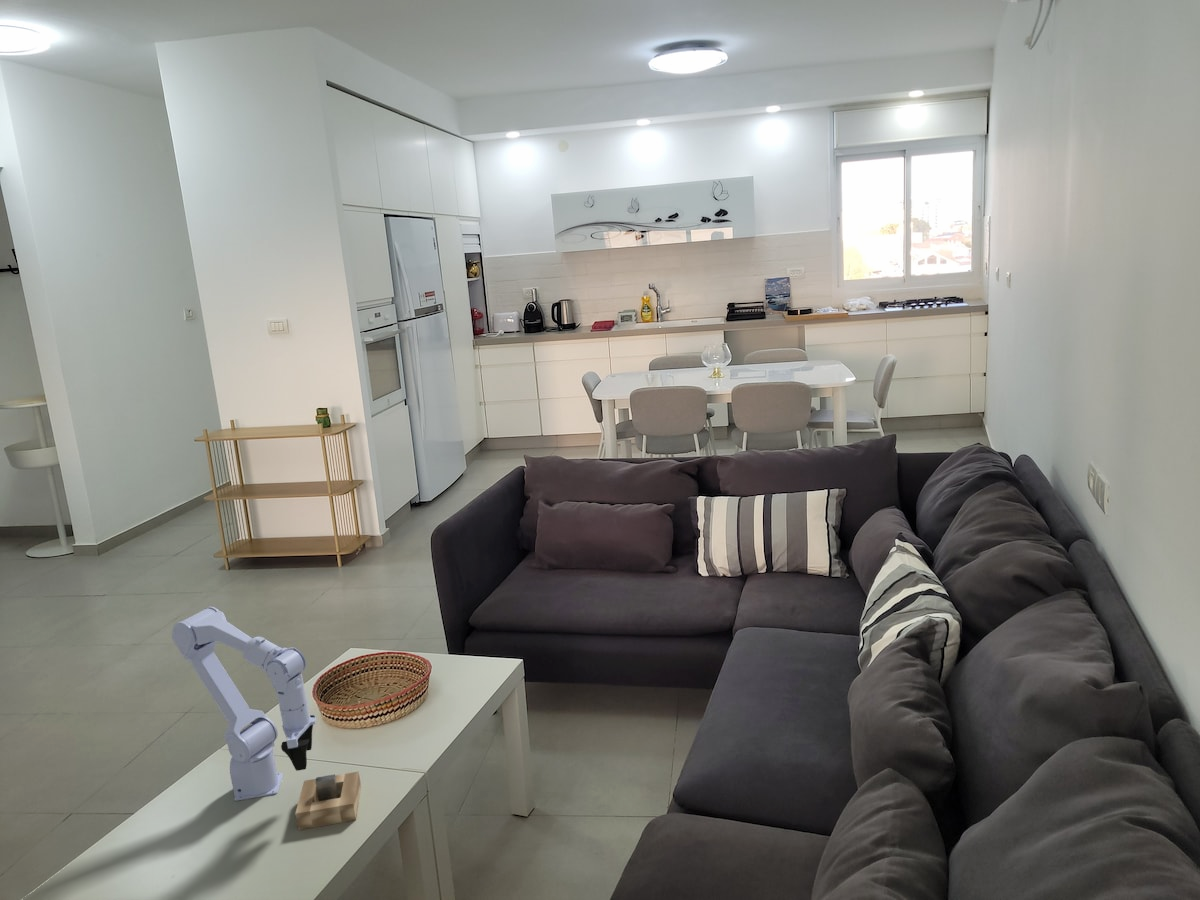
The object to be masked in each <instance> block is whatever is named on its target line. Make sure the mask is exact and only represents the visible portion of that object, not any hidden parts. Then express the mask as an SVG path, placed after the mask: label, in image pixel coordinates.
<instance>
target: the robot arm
mask: <svg viewBox="0 0 1200 900" xmlns="http://www.w3.org/2000/svg"><path fill="white" fill-rule="evenodd" d="M171 639H172V641H173V642H174V644H175V646H176V647H177V648H178V651H180V654H181V655H182V657H183V658H184V660H188V662H189V664H190V665H191V667H192V669H193V670H194V672H195V673H196V674H197V676H198V678H199V679H200V681H201V683H202V684H203V686H204V687H205V689H206V690H207V693H209V695H210V697H211V698H212V700H213V701H214V703H215V704H216V705H217V707H218V709H219V711H220V712H221V714H222V715H223V716H224V718H225V720H226V722H227V727H226V730H225V732H224V734H223V739H224V741H225V743H226V745H227V748H228V752H229V755H230V756H231V758H230V762H229V774H230V781H231V784H232V785H231V786H232V789H233V793H234V794H233V796H234V798H233V799H234V801H235V802H237V801H244V800H249V799H254V798H255V799H256V798H259V797H261V798H262V797H266V796H273V795H277V794H278V792H279V789H280V787H281V783H282V779H283V777H284V773H283V772H278V770H277V764H276V759H275V756H274V749H273V748H274V747H276V746H275V741H276V740H277V738H278V735H279V734H278V728H277V726H276V724H275V723H274V722H273V721H272V720H271V719H270V718H269V717H268V716H267V715H266V714H265V713H264V711H263V710H259V709H251V708H250V707H249V705H248V703H247V701H246V700H245V699H244V697H243V695H242V694H241V692H240V691H239V689H238V688H237V686H236V685H235V683H234V682H233V680H232V678H231V677H230V675H229V674H228V672H227V670H226V669H225V668H224V666H223V664H222V663H221V661H220V659H219V658H218V656H217V655H216V653H215V652H214V651H215V647H216V644H217V643H218V642H219V643H221V644H223V645H225V646H228V647H230V648H232V649H235V650H237V651H239V652H241V653H242V656H243V659H244V660H245V661H246V662H248V663H250V664H251V665H253V666H255V667H256V668H257V667H258V668H259V669H260V670H263V671H264V672H265V674H266V677H267V678H268V679H269V681H270V682H271V684H272V689H274V691H275V692H276V697H277V701H278V702H277V703H278V706H279V711H280V716H281V722H282V725H281V726H282V730H283V734H284V735H285V738H286V741H282V742H281V745H280V748H281V751H282V752H284V753H285V755H287V757H288V758H289V759H290V761H291V764H292V765H293V768H294V770H295V771H296V772H298V771H304V770H306V769H307V764H308V763H307V751H311V750H312V748H313V747H312V746H313V745H312V744H313V729H314V725H316V723H317V717H316V716H315V715H313V714H312V715H311V714H310V711H309V705H308V699H307V694H306V693H307V692H306V690H305V689H306V688H305V684H304V679H303V673H302V672H303V671H304V670H305V669H306V666H307V663H306V662H307V661H306V658H305V655H303V653H302V652H301V651H300V650H299V649H297V648H296V647H283V648H282V647H280V646H279V645H277V644H275V643H273V642H271V641H269V640H267V639H266V638H265V637H263V636H254V637H253V638H252V637H251V636H250V635H248V634H246V633H245V632H244V631H242V630H240V629H239V628H237V627H236V626H235V625H233V624H232V623H230V622H229V621H227V618H226V615H225V614H224V611H221V610H219V609H218V608H216V607H214V606H210V605H209V606H207V607H206V608H204V609H203V610H200V611H199V612H197V613H195V614H193V615H192V616H190V617H187V618H185V619H183V620H181V621H177V622H176V623H175V624H174V625H173V628H172V636H171ZM248 725H249V726H248ZM243 728H245V729H243Z"/></svg>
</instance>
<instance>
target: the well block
mask: <svg viewBox="0 0 1200 900" xmlns="http://www.w3.org/2000/svg"><path fill="white" fill-rule="evenodd" d="M335 777H336V782H337V788H338V793H339V795H340V798H336V799H330V800H324V801H319V798H318V793H317V788H316V782H315V781H316V778H313V779H307V780H303V782H302V787H301V790H300V795H299V799H298V802H297V806H296V809H295V813H294V814H295V820H296V823H297V829H298V831H299V830H308V829H311V828H312V829H313V828H317V827H323V826H324V827H325V826H329V825H335V824H339V823H345V822H353V821H357V816H358V810H359V803H360V798H361V791H362V783H361V778H360V773H359V771H355V772H347V773H342V774H338V775H337V774H335Z"/></svg>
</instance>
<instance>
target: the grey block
mask: <svg viewBox="0 0 1200 900" xmlns="http://www.w3.org/2000/svg"><path fill="white" fill-rule="evenodd" d="M335 775H336V774H329V775H324V776H317V777H316V778H315V779H316V781H315V782H316V788H317V793H318V798H319V801H324V800H330V799H336V798H340V795H339V793H338V788H337V782H336V777H335Z"/></svg>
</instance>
